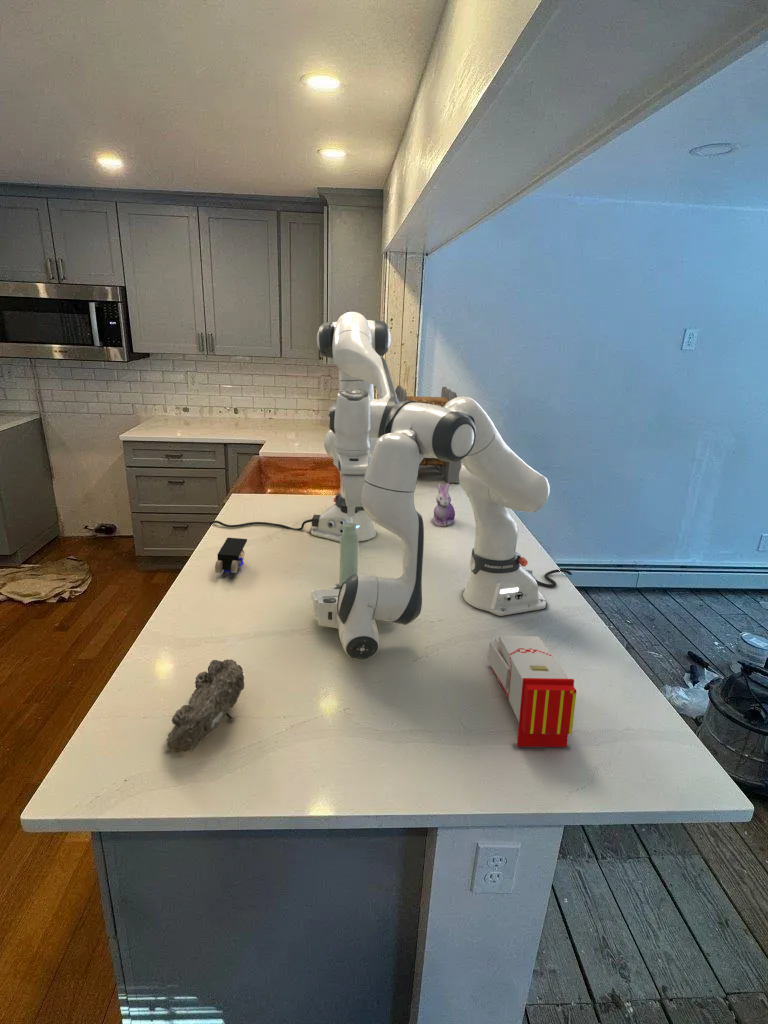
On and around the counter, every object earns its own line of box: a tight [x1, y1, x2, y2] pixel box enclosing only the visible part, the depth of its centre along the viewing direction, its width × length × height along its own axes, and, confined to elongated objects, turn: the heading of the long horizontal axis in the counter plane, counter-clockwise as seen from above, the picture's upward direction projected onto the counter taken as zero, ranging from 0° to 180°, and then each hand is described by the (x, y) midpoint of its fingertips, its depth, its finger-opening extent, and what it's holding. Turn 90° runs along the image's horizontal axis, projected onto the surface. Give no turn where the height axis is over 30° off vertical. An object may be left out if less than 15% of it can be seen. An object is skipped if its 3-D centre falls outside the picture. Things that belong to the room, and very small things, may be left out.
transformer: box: [395, 384, 462, 484], centre depth 268 cm, size 34×33×41 cm
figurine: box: [432, 482, 456, 527], centre depth 210 cm, size 9×10×15 cm
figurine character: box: [214, 537, 248, 578], centre depth 166 cm, size 7×8×15 cm
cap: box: [341, 501, 359, 514], centre depth 141 cm, size 4×5×2 cm
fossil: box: [166, 658, 245, 754], centre depth 106 cm, size 22×10×15 cm
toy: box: [486, 635, 577, 748], centre depth 115 cm, size 12×13×30 cm
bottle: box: [338, 523, 360, 588], centre depth 147 cm, size 5×5×23 cm
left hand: (349, 511), depth 142 cm, fingers closed on cap, 4 cm apart
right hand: (347, 585), depth 150 cm, fingers closed on bottle, 5 cm apart
